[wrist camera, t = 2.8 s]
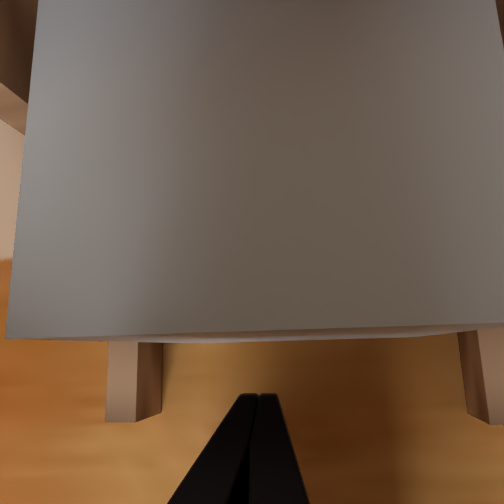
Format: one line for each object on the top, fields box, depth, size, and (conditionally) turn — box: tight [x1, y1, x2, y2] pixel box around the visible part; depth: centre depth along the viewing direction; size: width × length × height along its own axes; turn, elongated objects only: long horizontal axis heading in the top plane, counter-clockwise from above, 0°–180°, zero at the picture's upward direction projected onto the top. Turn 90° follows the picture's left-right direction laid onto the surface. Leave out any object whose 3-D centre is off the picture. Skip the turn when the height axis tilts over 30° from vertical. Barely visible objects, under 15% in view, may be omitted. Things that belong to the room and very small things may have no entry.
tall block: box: [5, 0, 504, 343], centre depth 16 cm, size 9×11×14 cm
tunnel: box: [0, 0, 504, 425], centre depth 15 cm, size 15×18×17 cm
